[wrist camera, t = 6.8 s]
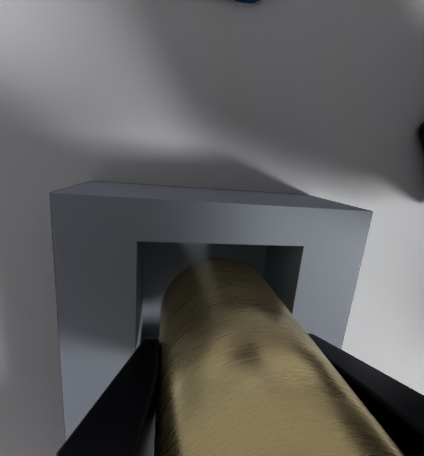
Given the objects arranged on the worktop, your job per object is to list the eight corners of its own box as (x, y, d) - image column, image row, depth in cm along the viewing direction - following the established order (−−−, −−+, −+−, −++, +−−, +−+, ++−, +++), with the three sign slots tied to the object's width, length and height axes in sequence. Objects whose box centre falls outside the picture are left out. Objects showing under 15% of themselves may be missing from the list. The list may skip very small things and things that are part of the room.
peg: (235, 235, 9) (661, 711, 1) (288, 318, 10) (669, 820, 2) (136, 300, 9) (-53, 1164, 1) (200, 376, 10) (303, 1053, 2)
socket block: (77, 180, 11) (-964, 431, 1) (320, 196, 13) (867, 330, 3) (88, 470, 15) (-78, 1137, 5) (274, 449, 17) (438, 887, 7)
